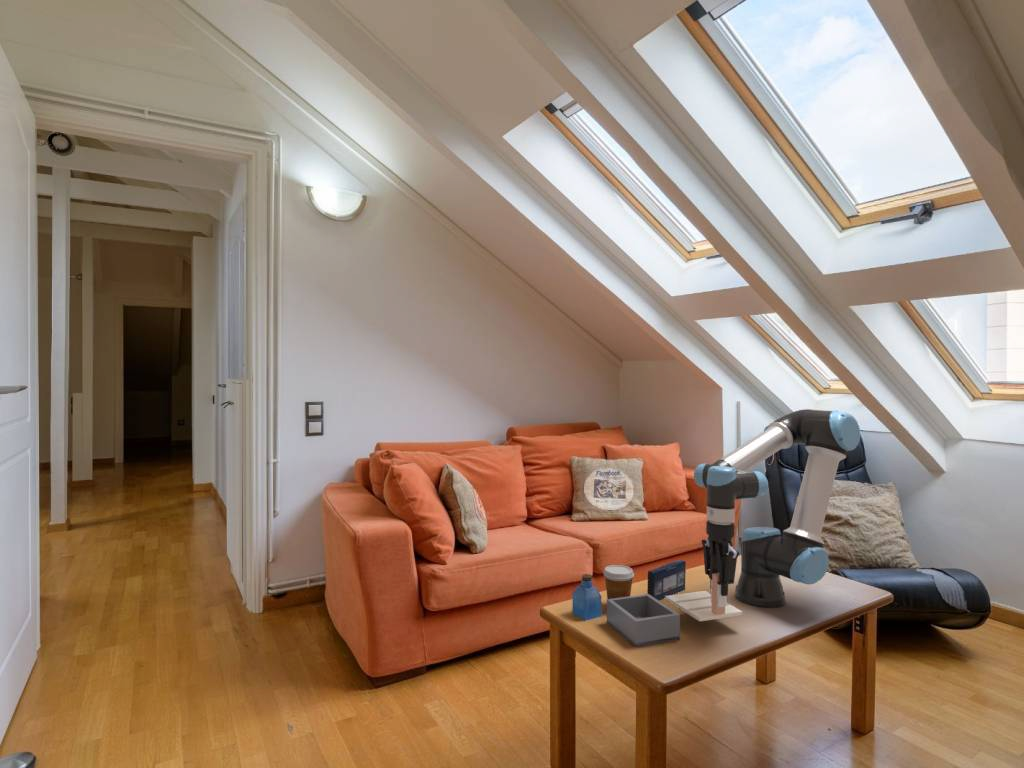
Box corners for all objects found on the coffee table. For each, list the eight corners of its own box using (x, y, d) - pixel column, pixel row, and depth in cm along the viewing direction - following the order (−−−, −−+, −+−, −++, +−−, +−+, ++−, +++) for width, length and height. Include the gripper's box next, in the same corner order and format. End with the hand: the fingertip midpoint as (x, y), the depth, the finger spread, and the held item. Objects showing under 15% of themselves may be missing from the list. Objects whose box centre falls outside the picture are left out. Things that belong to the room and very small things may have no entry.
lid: (704, 597, 182) (705, 555, 182) (742, 618, 167) (743, 573, 167) (664, 602, 178) (665, 560, 177) (699, 624, 162) (700, 578, 162)
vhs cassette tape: (653, 603, 187) (653, 572, 187) (645, 600, 189) (646, 570, 189) (686, 590, 198) (687, 561, 198) (679, 588, 201) (679, 559, 201)
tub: (647, 616, 177) (648, 593, 176) (679, 639, 161) (679, 614, 161) (606, 622, 172) (606, 599, 172) (635, 647, 157) (635, 621, 157)
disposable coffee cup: (596, 607, 183) (597, 569, 183) (614, 599, 190) (615, 562, 190) (622, 616, 177) (622, 577, 176) (639, 607, 183) (640, 569, 183)
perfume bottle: (572, 613, 179) (572, 574, 178) (588, 609, 182) (588, 571, 182) (584, 621, 173) (585, 580, 173) (601, 616, 176) (601, 577, 176)
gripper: (692, 516, 171) (690, 596, 171) (727, 529, 157) (725, 616, 157) (713, 514, 173) (712, 593, 174) (750, 527, 159) (748, 613, 160)
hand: (718, 604), depth 165 cm, fingers closed on lid, 2 cm apart
